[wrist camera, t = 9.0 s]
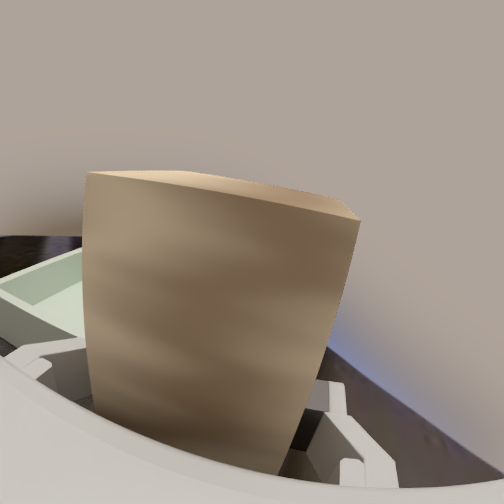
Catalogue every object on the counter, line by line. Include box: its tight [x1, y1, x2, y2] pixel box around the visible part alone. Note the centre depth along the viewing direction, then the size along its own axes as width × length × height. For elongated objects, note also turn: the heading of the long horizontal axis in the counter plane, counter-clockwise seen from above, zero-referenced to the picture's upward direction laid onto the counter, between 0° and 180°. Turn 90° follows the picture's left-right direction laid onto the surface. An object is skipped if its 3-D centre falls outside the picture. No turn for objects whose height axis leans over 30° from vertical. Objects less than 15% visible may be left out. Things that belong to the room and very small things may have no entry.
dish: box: [0, 248, 85, 348], centre depth 21 cm, size 13×13×4 cm
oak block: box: [82, 171, 361, 476], centre depth 9 cm, size 5×5×12 cm
